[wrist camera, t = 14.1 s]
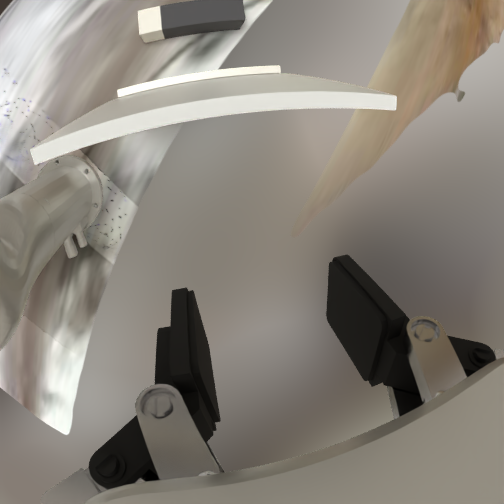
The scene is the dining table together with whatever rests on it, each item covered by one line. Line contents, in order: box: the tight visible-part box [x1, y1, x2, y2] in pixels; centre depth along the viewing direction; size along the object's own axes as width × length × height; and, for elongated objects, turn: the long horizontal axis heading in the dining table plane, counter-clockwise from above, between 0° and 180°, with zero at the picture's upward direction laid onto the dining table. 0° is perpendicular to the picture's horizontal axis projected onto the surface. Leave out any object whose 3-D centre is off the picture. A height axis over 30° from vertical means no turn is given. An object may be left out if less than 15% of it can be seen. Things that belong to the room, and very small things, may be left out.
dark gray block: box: [138, 0, 245, 43], centre depth 29 cm, size 4×14×5 cm, turn 96°
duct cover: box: [30, 73, 397, 165], centre depth 21 cm, size 21×22×1 cm
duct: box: [117, 66, 281, 98], centre depth 28 cm, size 21×20×8 cm
